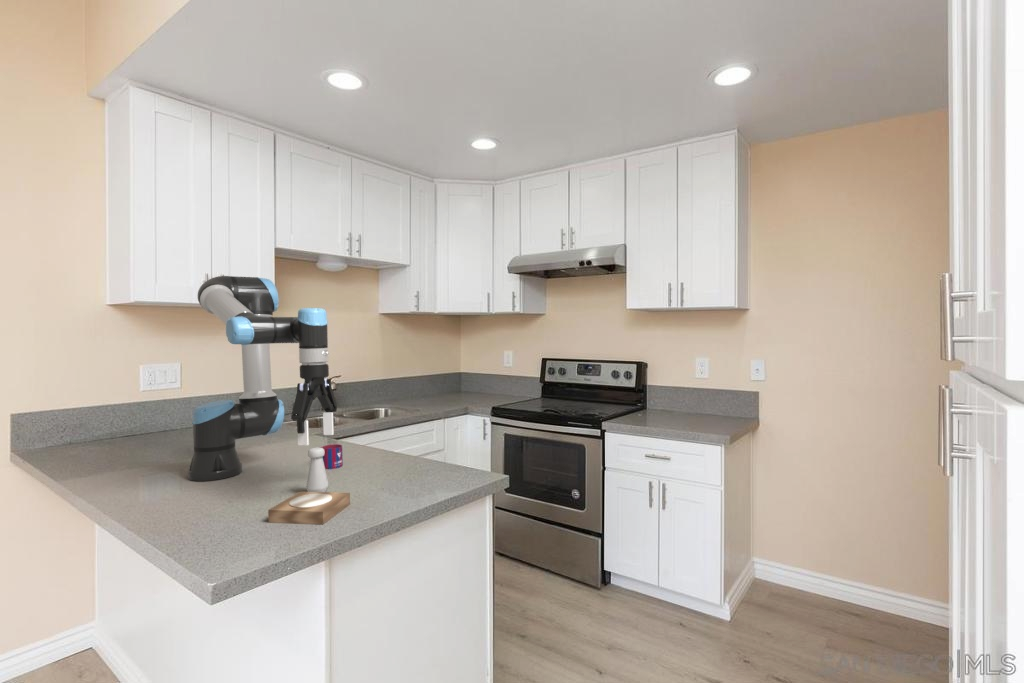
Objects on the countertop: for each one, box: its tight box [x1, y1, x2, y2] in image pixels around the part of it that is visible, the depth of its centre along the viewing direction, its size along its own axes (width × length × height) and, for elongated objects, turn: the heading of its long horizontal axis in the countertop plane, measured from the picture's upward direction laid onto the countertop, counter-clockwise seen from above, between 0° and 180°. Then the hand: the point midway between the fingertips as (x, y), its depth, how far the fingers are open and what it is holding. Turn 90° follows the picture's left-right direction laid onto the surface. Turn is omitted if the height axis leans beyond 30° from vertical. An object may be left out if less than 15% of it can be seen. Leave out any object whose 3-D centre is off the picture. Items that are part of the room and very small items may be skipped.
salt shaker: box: [305, 447, 329, 492], centre depth 143 cm, size 6×6×13 cm
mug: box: [317, 443, 344, 470], centre depth 174 cm, size 7×10×7 cm
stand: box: [267, 491, 351, 525], centre depth 129 cm, size 14×14×3 cm
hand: (316, 439), depth 143 cm, fingers open, 13 cm apart
